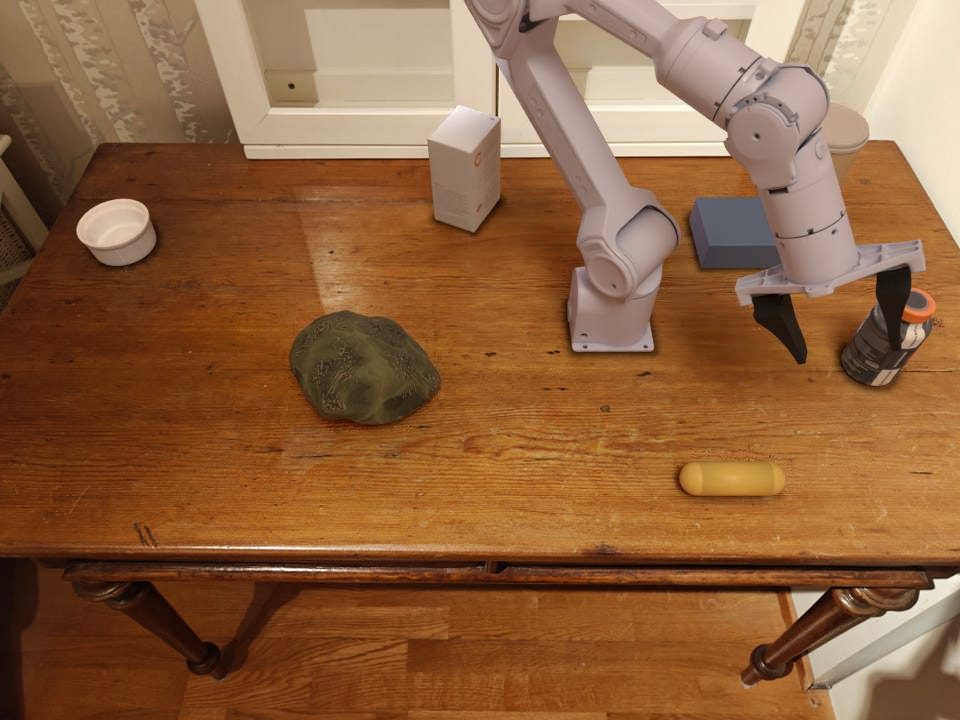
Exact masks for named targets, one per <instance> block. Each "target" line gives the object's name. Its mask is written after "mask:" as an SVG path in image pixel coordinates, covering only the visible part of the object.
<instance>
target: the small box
mask: <svg viewBox="0 0 960 720" xmlns="http://www.w3.org/2000/svg"><path fill="white" fill-rule="evenodd" d="M501 129H502V117H499V116H496V115H493V114H491V113H486V112H483V111H480V110H476V109H473V108H470V107H467V106H462V105H456V106H455V108H454V109H453V110H452V111H451V112H450V113H449V114H448V116H447V117H446V118H445V119H444V120H443V121H442V122H441V123H440V124H439V125H438V126H437V127H436V129H435V130H434V131H433V132H432V133H431V134H430V135H429V137H428V138H427V140H426V142H427V151H428V161H429V162H428V163H429V173H430V185H431V194H432V205H433V218H434V219H435V220H436V221H439V222H442V223H445V224H447V225H450V226H452V227H456V228H458V229H461V230H464V231H466V232H467V231H468V232H471V233H475V232H476V231H477V230H478V229H479V227H480V226H481V224H482V223H483V222H484V220H485V219H486V217H488V215H489V214H490V212H491V211H492V210H493V208H494V207H495V206H496V204H497V203H498V202H499V200H500V199H501V149H502V148H501V147H502V145H501V144H502V143H501V140H502V137H501V136H502V130H501Z"/></svg>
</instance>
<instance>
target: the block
mask: <svg viewBox="0 0 960 720" xmlns="http://www.w3.org/2000/svg"><path fill="white" fill-rule="evenodd" d="M688 222H689V226H690V229H691V234H692V237H693V241H694V245H695V249H696V253H697V257H698V261H699V264H700V265H699V266H700V268H701V269H769V268H772V267H774V266H777V265H779V264H782V262H781V259H780V256H779V253H778V250H777V247H776V244H775V241H774V238H773V235H772V232H771V229H770V226H769V223H768V220H767V217H766V214H765V211H764V208H763V205H762V202H761V199H760V196H714V197H713V196H707V197H706V196H704V197H703V196H702V197H701V196H700V197H699V196H696V197H695V199H694V203H693V206H692V209H691V212H690V215H689V219H688Z"/></svg>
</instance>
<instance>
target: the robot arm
mask: <svg viewBox="0 0 960 720" xmlns="http://www.w3.org/2000/svg"><path fill="white" fill-rule="evenodd" d="M463 2H464V4H465V6H466V8H467V9H468V11H469V13H470V14H471V16H472V18H473V20H474V22H475V23H476V25H477V27H478V28H479V30H480V32H481V34H482V36H483V37H484V39H485V41H486V43H487V45H488V46H489V48H490V52H491V55H492V57H493V59H494V61H495V63H496V65H497V67H498V68H499V70H500V72H501V74H502V76H503V77H504V79H505V81H506V82H507V84H508V87H509V88H510V90H511V91H512V93H513V95H514V96H515V98H516V100H517V101H518V103H519V106H520V107H521V108H522V110H523V112H524V113H525V116H526V117H527V119H528V120H529V122H530V124H531V126H532V127H533V129H534V131H535V132H536V134H537V136H538V138H539V140H540V142H541V143H542V145H543V146H544V148H545V150H546V152H547V153H548V155H549V157H550V159H551V160H552V162H553V164H554V166H555V167H556V170H557V171H558V173H559V174H560V176H561V178H562V179H563V182H564V183H565V185H566V187H567V188H568V190H569V192H570V193H571V195H572V197H573V198H574V201H575V203H576V204H577V206H578V207H579V209H580V210H581V212H582V215H581V221H580V225H579V229H578V231H577V232H578V233H577V236H576V241H575V245H576V247H577V249H578V250H579V251H580V254H581V256H582V259H583V264H584V266H579V267H574V268H573V270H572V275H571V282H570V290H569V297H568V299H567V322H568V323H569V332H570V334H569V335H570V342H571V350H572V351H573V353H574V352H575V353H647V352H648V353H649V352H653V351H654V350H655V343H654V339H653V333H652V327H651V322H650V320H651V316H652V314H653V312H652V311H653V309H654V306H655V302H656V299H657V296H658V292H659V288H660V285H661V281H662V277H663V266H664V262H665V260H667V258H668V257H669V256H671V255H672V254H674V253H675V252H676V251H677V250H678V249H679V247H680V246H681V243H682V231H681V227H680V224H679V222H678V221H677V220H676V218H675V216H674V215H672V214H671V213H670V211H669V210H668V209H666V208H665V207H664V206H663V205H662V204H661V203H660V202H659V200H658V199H657V197H656V194H655V193H654V192H653V190H651V189H647V188H641V187H636V186H632V185H631V184H630V182H629V180H628V178H627V177H626V175H625V173H624V171H623V170H622V167H621V166H620V164H619V162H618V160H617V159H616V157H615V155H614V153H613V151H612V149H611V147H610V145H609V143H608V142H607V140H606V138H605V137H604V134H603V133H602V131H601V129H600V128H599V126H598V123H597V121H596V119H595V118H594V116H593V114H592V112H591V110H590V109H589V107H588V105H587V104H586V101H585V99H584V97H583V96H582V94H581V92H580V91H579V89H578V87H577V85H576V83H575V81H574V80H573V78H572V76H571V74H570V73H569V70H568V68H567V67H566V65H565V63H564V61H563V59H562V58H561V55H560V54H559V52H558V50H557V48H556V47H555V43H554V42H555V37H556V33H557V28H558V25H559V20H560V17H563V16H568V15H572V14H575V15H578V16H579V17H580V18H582V19H584V20H586V21H587V22H589V23H591V24H592V25H594V26H595V27H597V28H599V29H601V30H602V31H604V32H605V33H607V34H609V35H610V36H611V37H614V38H615V39H617V40H619V41H621V42H622V43H623V44H625V45H627V46H629V47H631V48H632V49H634V50H635V51H637V52H639V53H641V54H642V55H644V56H645V57H647V58H649V59H651V60H652V63H653V68H654V74H655V75H654V77H655V80H656V82H657V84H658V85H660V86H662V88H664V89H666V90H667V91H669V92H670V93H671V94H673V95H674V96H675V97H676V98H678V99H680V100H681V101H682V102H684V103H685V104H687V105H688V106H689V107H690V108H692V109H694V110H695V111H696V112H697V113H699V114H700V115H701V116H703V117H705V118H706V119H707V120H709V121H710V122H711V123H713V124H714V125H716V126H717V127H718V128H720V129H721V130H722V131H724V132H726V134H727V136H726V138H725V140H724V141H723V142H722V143H723V146H724V148H725V150H726V151H727V153H728V154H729V155H730V157H731V158H732V159H733V160H734V161H736V163H738V164H739V165H740V166H742V167H743V168H744V169H745V170H746V172H747V173H748V175H749V178H750V182H751V185H755V186H756V187H755V188H756V190H757V192H758V197H760V199H761V202H762V205H763V208H764V211H765V214H766V217H767V220H768V223H769V226H770V229H771V232H772V235H773V238H774V241H775V244H776V247H777V250H778V253H779V256H780V259H781V262H782V264H779V265H777V266H774V267H772V268H765V269H764V270H761V271H758V272H756V273H753V274H750V275H749V274H748V275H746V276H742V277H738V278H737V279H736V282H735V286H734V288H733V290H734V293H735V296H736V298H737V301H738V303H739V306H740V307H746V306H751V305H752V308H753V312H752V316H753V319H754V321H755V322H756V323H757V324H758V325H760V326H762V327H763V328H764V329H766V330H767V331H768V332H770V333H771V334H772V335H773V336H774V337H776V338H777V339H778V341H780V343H781V344H782V345H783V346H784V348H786V349H787V350H788V352H789V353H790V354H791V356H792V357H793V359H794V360H795V362H796V364H797V365H798V366H799V365H806V364H807V358H808V352H809V351H808V347H807V343H806V340H805V337H804V334H803V333H802V329H801V327H800V324H799V323H798V322H799V321H798V319H797V316H796V312H795V308H794V305H793V301H792V297H791V294H805V295H806V298H808V299H815V298H816V299H817V298H821V297H825V296H826V297H827V296H830V295H831V294H833V293H834V292H835V288H839V287H841V286H845V285H847V284H850V283H852V282H856V281H860V280H865V279H871V278H876V281H875V297H876V300H877V302H878V303H879V305H880V308H881V310H882V313H883V316H884V319H885V322H886V326H887V332H888V338H889V344H890V347H891V350H892V352H896V351H901V350H902V338H901V332H900V328H901V321H902V317H903V313H904V309H905V306H906V303H907V301H908V298H909V296H910V292H911V287H913V285H912V283H913V282H912V280H913V279H912V274H917V273H922V272H926V271H927V262H926V260H927V259H926V255H925V250H924V246H923V242H922V239H921V238H918V239H912V240H907V241H900V242H899V241H898V242H888V243H887V242H886V243H885V242H884V243H872V244H856V241H855V237H854V233H853V230H852V227H851V222H850V219H849V216H848V212H847V209H846V205H845V201H844V197H843V194H842V191H841V185H840V186H839V183H838V179H837V176H836V172H835V169H834V165H833V162H832V158H831V155H830V151H829V148H828V144H827V141H826V137H825V134H824V130H823V128H822V127H821V128H820V129H819V130H818V131H816V132H815V133H813V132H814V131H815V130H816V129H817V128H818V127H819V126H820V124H821V123H822V121H823V120H824V118H825V117H826V115H827V113H828V110H829V106H830V103H831V95H830V92H829V88H828V86H827V84H826V81H825V80H824V79H823V78H822V76H821V75H820V74H819V73H817V72H816V71H815V70H814V68H813V67H812V66H811V65H809V64H807V63H805V62H799V61H787V62H778V61H775V60H774V59H773V58H772V57H771V56H768V57H767V58H766V57H764V56H763V55H762V54H760V53H758V52H757V51H755V50H754V49H752V48H751V47H750V46H748V45H747V44H745V43H744V42H742V41H741V40H740V39H738V38H736V37H735V36H733V35H732V34H731V33H729V32H728V31H727V30H728V28H729V24H727V23H725V22H724V21H723V20H721V19H720V18H718V17H714V18H713V19H712V20H710V19H709V18H707V17H706V16H704V15H699V16H695V17H694V16H693V17H690V18H685V19H679V18H678V17H676V16H675V15H674V14H673V13H671V11H669V10H668V9H667V8H666V7H664V6H663V5H662V4H661V3H660V2H658V1H657V0H463ZM812 133H813V134H812Z"/></svg>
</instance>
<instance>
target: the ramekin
mask: <svg viewBox="0 0 960 720" xmlns="http://www.w3.org/2000/svg"><path fill="white" fill-rule="evenodd" d="M154 228H155V227H154V225H153V222H152V221H151V218H150V212H149V209H148V208H147V206H146V205H145V204H143V203H142V202H141V201H138V200H135V199H132V198H115V199H112V200H107V201H104V202H102V203H99V204H97V205H95V206H94V207H92V208H90V209H89V210H88V211H86V212H85V213H84V214H83V215H82V217H81V218H80V219H79V221H78V222H77V225H76V230H75V231H76V236H77V238H78V239H79V241H80V242H81V243H82V244H84V246H86V248H87V249H88V250H89V251H90V252H91V253H92V255H93V256H94V257H95V258H96V260H98V261H99V262H100V263H101V264H104V265H106V266H111V267H112V266H113V267H122V266H128V265H132V264H135V263H137V262H140V261H141V260H143V259H144V258H146V257H147V256H148V255H149V254H150V253H151V252H152V251H153V249H154V248H155V246H156V243H157V234H156V231H155V229H154Z"/></svg>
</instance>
